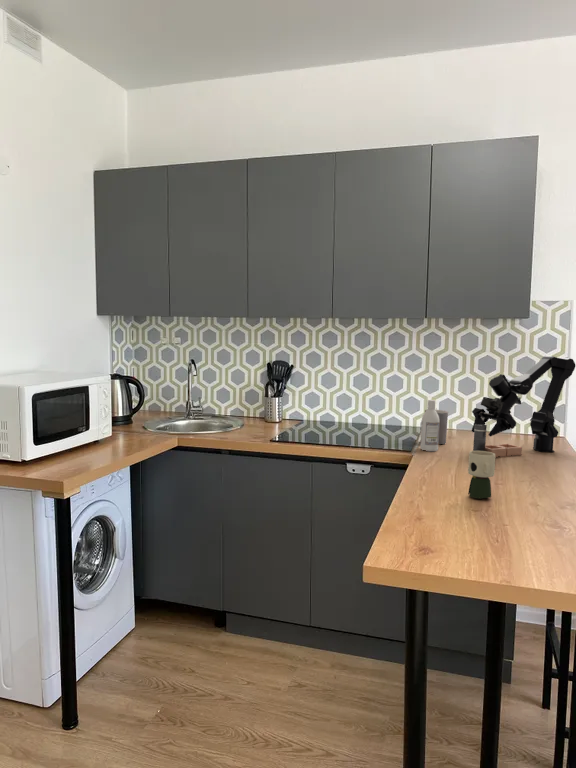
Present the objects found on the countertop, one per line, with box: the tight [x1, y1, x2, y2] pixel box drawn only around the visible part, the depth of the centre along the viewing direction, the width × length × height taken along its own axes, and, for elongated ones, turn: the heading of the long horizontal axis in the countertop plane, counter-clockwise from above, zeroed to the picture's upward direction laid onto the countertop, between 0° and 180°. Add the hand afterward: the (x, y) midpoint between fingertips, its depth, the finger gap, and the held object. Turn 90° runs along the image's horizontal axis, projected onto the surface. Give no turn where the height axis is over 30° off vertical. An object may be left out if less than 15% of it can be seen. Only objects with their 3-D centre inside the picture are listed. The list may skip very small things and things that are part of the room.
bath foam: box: [419, 399, 440, 452], centre depth 236 cm, size 7×7×20 cm
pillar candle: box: [424, 408, 449, 445], centre depth 253 cm, size 10×10×15 cm
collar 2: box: [495, 443, 523, 457], centre depth 235 cm, size 7×7×3 cm
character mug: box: [467, 450, 496, 500], centre depth 169 cm, size 11×7×13 cm, turn 1°
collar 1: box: [485, 444, 507, 458], centre depth 231 cm, size 7×7×3 cm
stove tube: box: [472, 424, 488, 451], centre depth 228 cm, size 4×4×12 cm
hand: (480, 433), depth 228 cm, fingers open, 9 cm apart
